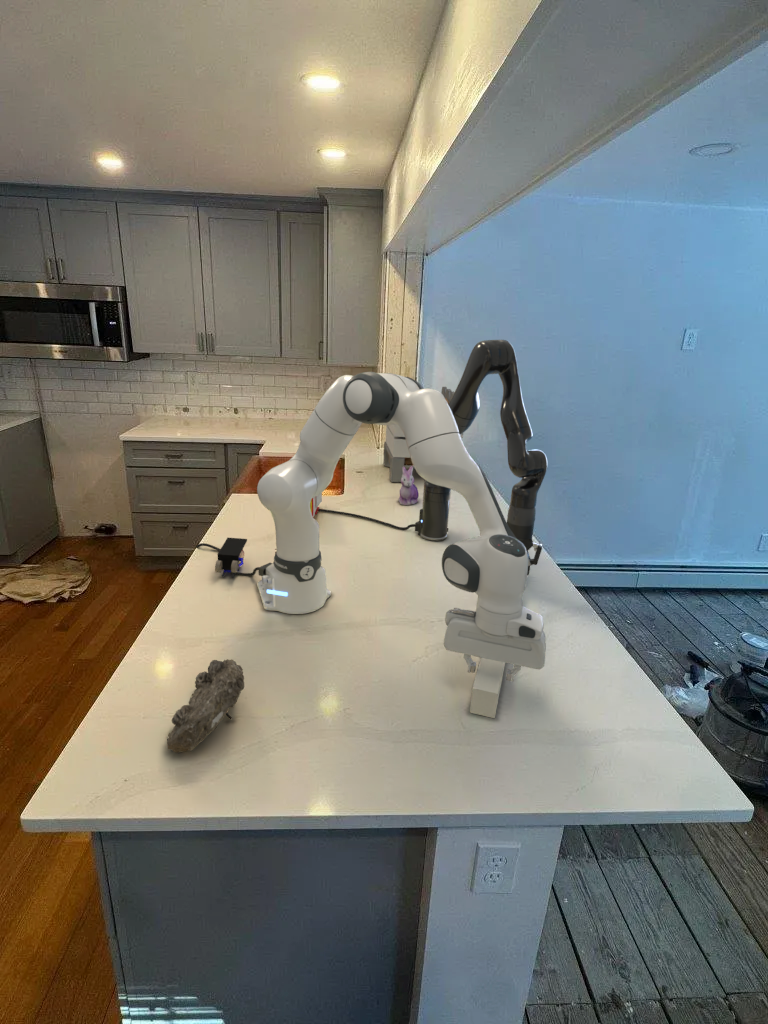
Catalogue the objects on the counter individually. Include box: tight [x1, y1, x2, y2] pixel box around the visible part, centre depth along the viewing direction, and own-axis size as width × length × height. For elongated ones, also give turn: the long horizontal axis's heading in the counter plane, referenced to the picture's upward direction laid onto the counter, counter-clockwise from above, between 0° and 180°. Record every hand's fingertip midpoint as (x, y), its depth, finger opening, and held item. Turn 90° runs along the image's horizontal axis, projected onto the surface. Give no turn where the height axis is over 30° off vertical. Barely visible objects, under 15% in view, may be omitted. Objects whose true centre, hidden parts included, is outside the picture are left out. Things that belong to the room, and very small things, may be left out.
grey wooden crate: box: [383, 386, 464, 483], centre depth 268 cm, size 34×33×41 cm
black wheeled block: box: [214, 537, 248, 578], centre depth 166 cm, size 7×8×15 cm
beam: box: [469, 657, 506, 719], centre depth 141 cm, size 68×5×6 cm, turn 163°
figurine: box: [398, 466, 420, 506], centre depth 230 cm, size 9×10×15 cm
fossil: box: [166, 658, 245, 754], centre depth 106 cm, size 22×10×15 cm
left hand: (490, 675), depth 116 cm, fingers open, 6 cm apart
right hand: (513, 573), depth 165 cm, fingers open, 6 cm apart
